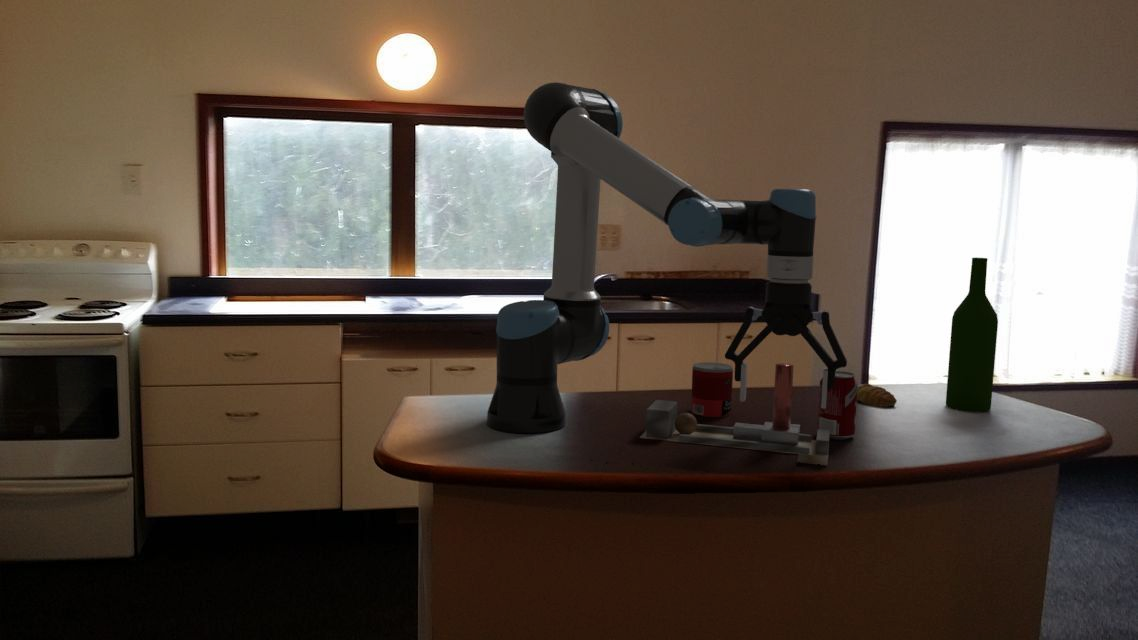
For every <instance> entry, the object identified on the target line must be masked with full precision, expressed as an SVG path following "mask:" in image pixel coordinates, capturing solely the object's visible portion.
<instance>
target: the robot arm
mask: <svg viewBox="0 0 1138 640" xmlns="http://www.w3.org/2000/svg"><path fill="white" fill-rule="evenodd" d="M523 121H524V125H525V128H526V130H527V133H528V134H529V136H530V137H531V138H532V139H533V140H535V141H536V142H537V143H538V144H539V145H541V146H543V147H544V148H545V149H547V150H548V151H550V158H551V159H552V160H553V162H555V164H556V166H557V179H556V199H555V215H554V216H555V217H554V219H555V220H554V235H553V236H554V237H553V252H552V253H553V254H552V256H553V257H552V273H551V274H552V276H551V285H550V287H549V288H548V289H547V290H546V291H545V292H544V293H543V300H542V299H532V300H531V299H530V300H525V301H524V300H522V301H515V302H512V303H508V304H505V305H504V306H502V307H501V308H499V311H498V313H497V319H496V320H497V321H496V326H495V333H496V385H495V389H494V392H493V394H492V397H491V401H490V404H489V406H488V410H487V413H486V414H487V415H486V416H487V417H486V419H487V421H486V422H487V423H486V424H487V425H488V427H489V428H491V429H494V430H497V431H501V432H506V431H507V433H515V434H538V433H539V434H540V433H547V432H552V431H553V432H554V431H556V430H559V429H562V428H563V427H565V426H566V422H567V421H566V418H567V417H566V415H567V413H566V409H565V406H564V403H563V400H562V396H561V393H560V390H559V387H558V365H561V364H565V363H569V362H576V361H577V362H579V361H582V360H585V359H587V358H590V357H591V356H594V355H595V354H597V353H598V352H600V351H601V350H602V349H603V348H604V346H605V345H606V343H607V341H608V338H609V335H610V319H609V317H608V315H607V314H606V312H605V308H603V307H602V306H601V303H602V301H601V300H602V299H601V298H602V297H601V295H600V294H599V293H598V292H597V290H596V289H595V276H596V275H595V274H596V259H597V258H596V256H597V243H598V242H597V241H598V227H599V226H598V225H599V210H600V209H599V208H600V194H601V181H603V182H605V184H607V185H608V186H610V187H611V188H612V189H615V190H616V191H617V192H619V193H621V195H623V196H625V197H626V198H628V199H629V200H631V202H633V203H635V204H636V205H638V206H639V207H641V208H642V209H643V210H645V211H646V212H648V213H649V214H651V215H652V216H653V217H655V218H656V219H658V220H660V221H661V222H662V223H664V224H665V225H667V226H668V228H669V231H670V233H671V235H672V237H673V238H674V239H675V240H676V241H677V242H679V243H680V244H683V245H685V246H686V245H687V246H691V247H705V246H715V245H731V244H732V245H734V244H735V245H736V244H737V245H738V244H740V245H741V244H742V245H743V244H744V245H764V246H765V245H767V262H766V278H768V279H769V281H768V280H767V282H766V283H765V302H764V307H763V309H761V308H755V307H754V306H750V305H749V306H748V307H747V309H746V310H745V316H744V320H743V322H742V324H741V326H740V327H739V329H738V330H737V333H736V335H735V336H734V338H733V340H732V341H731V343H730V345H729V347H728V348H727V350H726V352H725V353H724V358H725V359H726V360H730V361H732V362H733V363H734V380H735V382H740V390H739V392H740V393H739V402H741V403H742V402H745V401H746V399H747V383H748V382H747V381H748V363H749V362H748V361H744V360H745V359H746V358H747V357H748V356H749V355H750V354H751V353H752V352H754V350H755V349H756V348H757V347H758V346H759V345H760V344H761V343H762V342H763V341H764V340H765V339H766V338H767V337H768V336H769V335H770V334H771V333H773V334H774V335H776V336H789V337H797V336H798V335H801V336H802V338H803V339H805V341H806V342H807V344H809V346H810V347H811V349H812V350H813V351H814V352H815V353H816V355H817V356H818V357H819V359H820V360H821V361H822V362H823V364H824V365H825V366H826V367H823V370H822V371H823V372H822V378H823V384H822V401H821V408H824V409H826V399H827V388H830V389H833V388H834V383H835V371H837V370H838V369H841V368H846V367H847V363H848V361H847V357H846V355H845V354H844V351H843V350H842V346H841V345H840V343H839V341H838V338H837V336H836V333H835V332H834V329H833V327H832V325H831V322H830V320H831V319H830V312H829V310H827V309H825V310H822V311H812V308H811V305H812V287H813V285H812V284H811V282H809V281H810V280H812V279H813V274H814V273H813V268H814V244H815V231H816V220H817V215H816V213H817V212H816V210H817V206H816V205H817V204H816V203H817V201H816V199H817V198H816V194H815V192H814V191H813V190H811V189H805V188H804V189H803V188H780V189H779V188H775V189H772V190H771V192H770V196H769V198H768V200H743V199H742V200H741V199H735V200H734V199H715V198H713V199H712V198H710V197H708V196H707V195H705V194H704V193H703V192H701V191H699V190H697V189H696V188H694V187H693V186H692V185H691V184H689V183H688V182H686V181H684V179H681V178H680V177H678V176H677V175H675V174H674V173H672V172H671V171H670V170H668V169H667V168H665V167H663V166H661V165H660V164H659V163H657V162H655V161H654V160H653V159H651V158H649V157H648V156H647V155H645V154H643V153H642V152H641V151H639V150H637V149H636V148H635V147H633V146H631V145H630V144H628V143H627V142H626V141H623V140H622V139H620V138H621V135H622V132H623V125H624V124H623V123H624V122H623V115H622V112H621V109H620V107H619V105H618V104H617V102H616V101H615V100H614V99H613V98H612V97H611V96H610V95H609V94H607V93H605V92H602V91H600V90H597V89H595V88H590V87H589V88H588V87H583V86H576V85H572V84H567V83H565V82H564V83H563V82H556V81H555V82H547V83H545V84H542V85H541V86H538V87H537V88H535V90H533V91H532V93H530V95H529V96H528V98H527V100H526V102H525V105H524V109H523ZM759 317H762V319H763V321H765V323H766V324H767V325H766V326H765V327H764V328H763V329H762V330H761V331H760V332H759V333H758V334H757V335H756V336H755V337H754V338H753V339H752V340H751V341H750V342H749V344H748V345H746V346H745V347H744V349H743V350H742V351H741V352H739V353H736V351H737V350H738V348H739V346H740V345H741V342H742V340H743V339H744V337H745V335H746V333H747V332H748V330H749V328H750V326H751V324H752V323H753V322H754V321H757V319H758V318H759ZM812 320H816V323H817V324H818V325H821V326H822V330H823V332H824V334H825V336H826V338H827V340H828V343H829V345H830V348H831V349H832V351H833V353H834V356H835V358H836V359H835V360H833V358H832V357H831V356H830V355H829V353H828V352H827V350H826V349H825V348H824V347H823V346H822V344H821V342H820V341H818V339H817V338H816V336H814V334H813V333H812V331H811V330H810V329H809V327H808V325H809V324H810V323H811V322H812Z"/></svg>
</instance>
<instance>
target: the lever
mask: <svg viewBox="0 0 1138 640" xmlns="http://www.w3.org/2000/svg"><path fill="white" fill-rule="evenodd" d="M774 372H775V373H774V391H773V409H772V411H773V412H772V421H765V422H764V424H756V423H755V424H754V423H753V424H752V423H746V422H745V423H743V422H735V424H734V425H733V427H734V431H733V439H736V440H746V441H757V442H767V443H777V444H787V445H797V446H798V445H799V437H800V434H801V424H796V423H795V424H794V423H791V419H792V405H793V404H792V403H793V402H792V401H793V385H794V384H793V383H794V382H793V381H794V364H792V363H784V362H783V363H782V362H779V363H775V371H774Z"/></svg>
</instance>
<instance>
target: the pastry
mask: <svg viewBox="0 0 1138 640" xmlns="http://www.w3.org/2000/svg"><path fill="white" fill-rule="evenodd" d="M857 402H861V403H862V404H865V405H869V406H872V407H878V408H880V407H883V408H888V407H890V406H893V407H894V406H895V405H896V403H897V399H896V398H895V395H893V394H892V393H891V392H890V391H887V390H886V389H885V388H884V387H881V386H876V385H875V386H873V385H872V384H869V383H864V384H861V385H859V386H858V390H857Z"/></svg>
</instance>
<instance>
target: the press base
mask: <svg viewBox="0 0 1138 640" xmlns="http://www.w3.org/2000/svg"><path fill="white" fill-rule="evenodd" d="M678 404H679V402H678V401H676V400H675V401H674V400H661V399H656V400H655V401H653V403H652V404H651V405H650V406H648V407H647V408H646V427H645V431H644V432H643V433H642V434H641V435H640V436H639V439H647V440H648V439H649V440H655V441H656V440H659V441H665V442H666V441H667V442H677V443H687V444H698V445H708V446H718V447H726V448H735V449H736V448H737V449H748V450H756V451H763V452H765V451H766V452H776V453H783V454H784V453H786V454H793V455H794V454H795V455H796V454H797V460H796V463H799V462H800V464H809V465H818V464H820V466H828V464H829V463H828V459H829V451H830V449H829V448H830V439H829V436H830V429H819V428H818V432H817V431H816V432H817V433H816V439H813V438H812V437H813V436H812V434H809V433H808V434H807V433H806V434H805V433H800V437H799V445H798V446H797V445H787V444H777V443H767V442H757V441H746V440H736V439H733V431H734V426H732V427H731V426H724V425H723V426H722V425H713V424H701V423H697V427H696V430H695V431H694V432H693V433H692V434H689V435H686V434H680V433H679V432H678V431H677V430H676V428H675V419H676V417H677V416H678V409H679V406H678Z"/></svg>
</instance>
